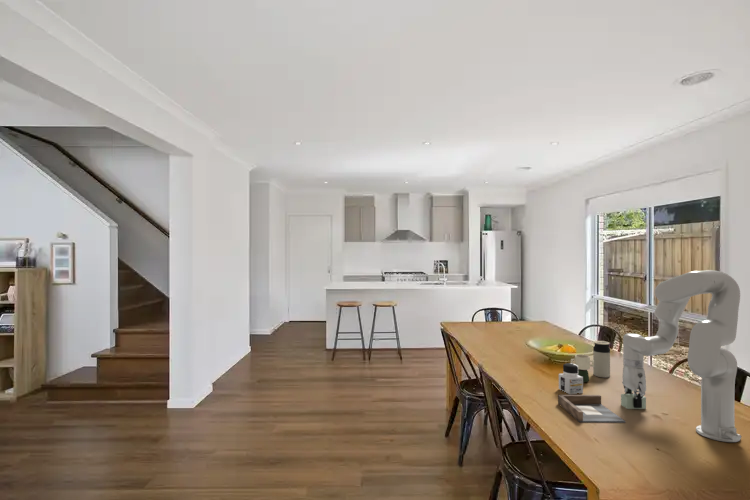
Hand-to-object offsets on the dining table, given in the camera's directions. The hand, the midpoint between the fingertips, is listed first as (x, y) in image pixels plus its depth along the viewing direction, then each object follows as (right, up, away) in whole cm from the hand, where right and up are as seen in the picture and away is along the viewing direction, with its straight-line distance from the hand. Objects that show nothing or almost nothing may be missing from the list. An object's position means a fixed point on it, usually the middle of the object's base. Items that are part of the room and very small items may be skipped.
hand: (633, 404), depth 184 cm
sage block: (0, -1, 0) cm, 1 cm away
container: (-18, -1, +20) cm, 27 cm away
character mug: (-4, -1, +36) cm, 36 cm away
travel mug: (+11, -1, +46) cm, 47 cm away
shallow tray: (-22, -1, -7) cm, 23 cm away
